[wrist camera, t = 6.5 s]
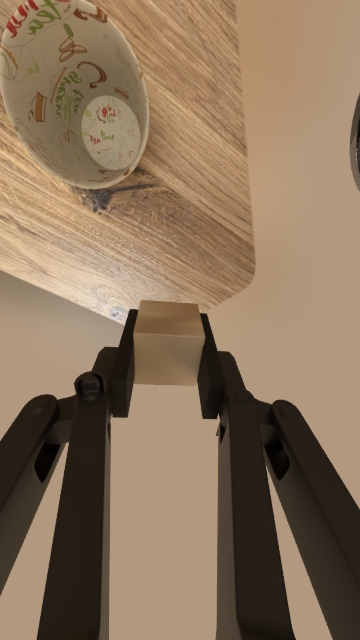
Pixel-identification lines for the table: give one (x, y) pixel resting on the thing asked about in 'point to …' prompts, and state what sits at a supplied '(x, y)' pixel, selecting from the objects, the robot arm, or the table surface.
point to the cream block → (167, 343)
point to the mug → (74, 92)
